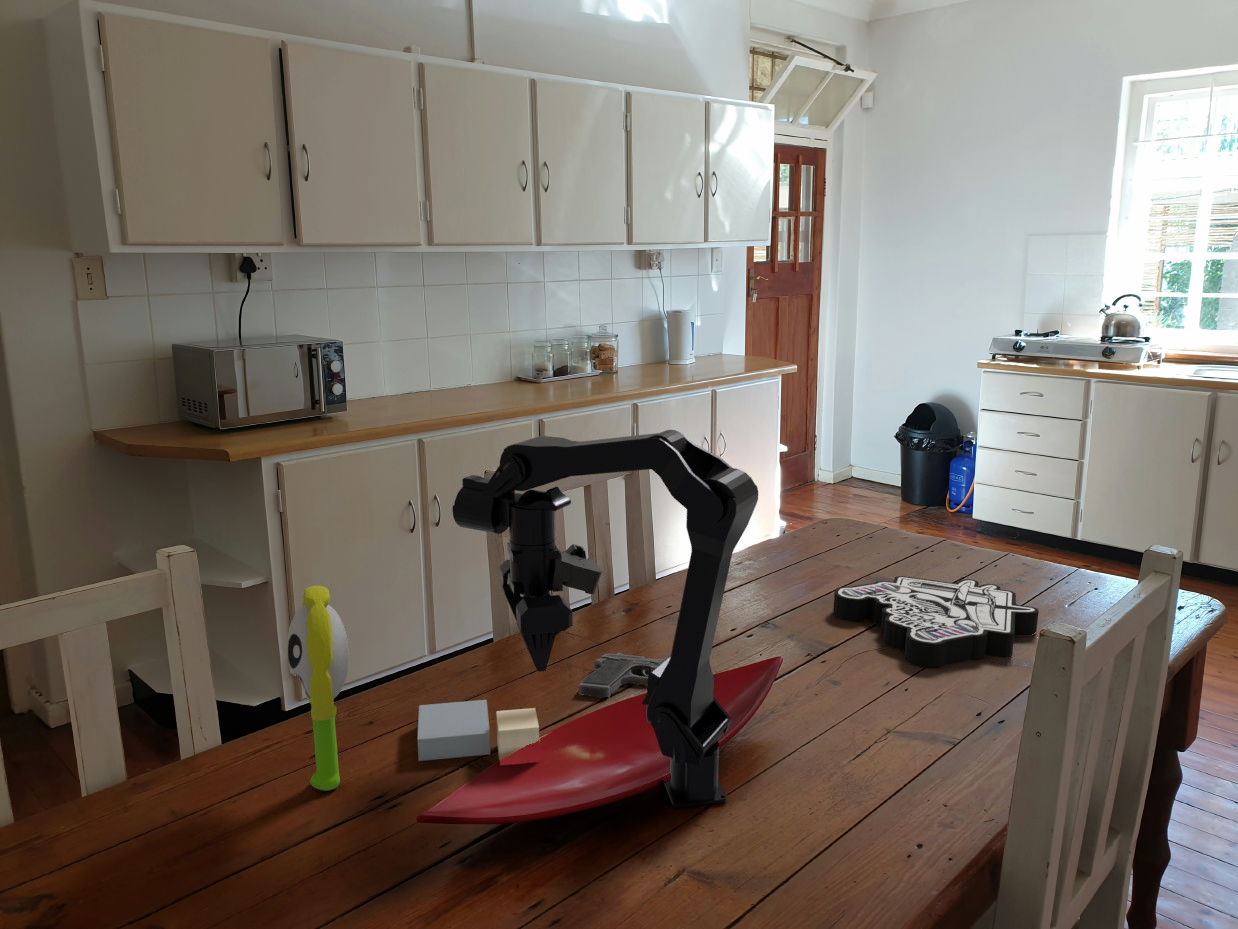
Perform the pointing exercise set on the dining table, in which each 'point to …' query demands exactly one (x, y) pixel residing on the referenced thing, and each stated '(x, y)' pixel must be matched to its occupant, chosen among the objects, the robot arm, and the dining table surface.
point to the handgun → (617, 673)
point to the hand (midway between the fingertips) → (534, 655)
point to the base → (453, 730)
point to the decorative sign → (939, 618)
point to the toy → (320, 674)
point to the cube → (516, 730)
